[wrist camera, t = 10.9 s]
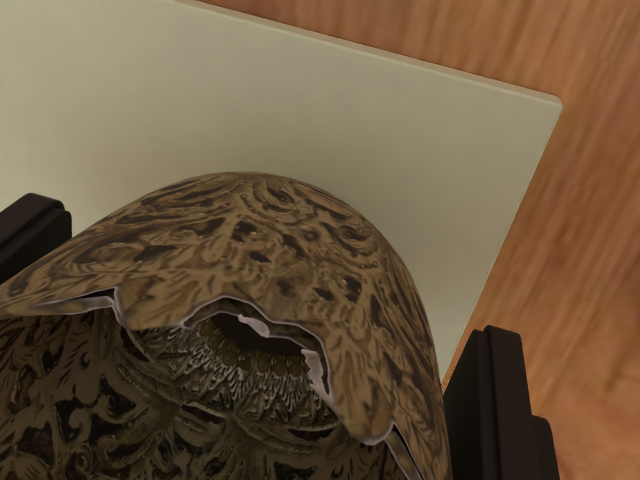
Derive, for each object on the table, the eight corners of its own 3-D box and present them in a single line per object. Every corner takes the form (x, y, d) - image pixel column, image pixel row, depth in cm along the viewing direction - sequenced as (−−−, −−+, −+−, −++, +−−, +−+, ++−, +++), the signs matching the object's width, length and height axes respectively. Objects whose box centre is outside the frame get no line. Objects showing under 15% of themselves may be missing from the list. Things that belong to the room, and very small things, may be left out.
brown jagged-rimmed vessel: (112, 283, 16) (-149, 584, 9) (197, 15, 12) (-151, 186, 5) (368, 406, 16) (304, 784, 9) (531, 187, 12) (624, 556, 5)
